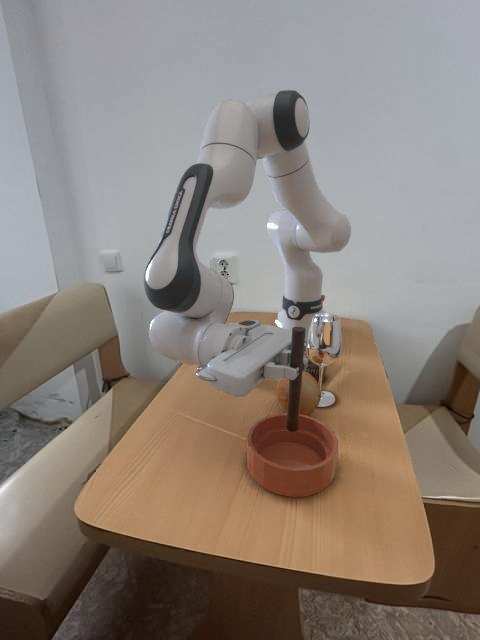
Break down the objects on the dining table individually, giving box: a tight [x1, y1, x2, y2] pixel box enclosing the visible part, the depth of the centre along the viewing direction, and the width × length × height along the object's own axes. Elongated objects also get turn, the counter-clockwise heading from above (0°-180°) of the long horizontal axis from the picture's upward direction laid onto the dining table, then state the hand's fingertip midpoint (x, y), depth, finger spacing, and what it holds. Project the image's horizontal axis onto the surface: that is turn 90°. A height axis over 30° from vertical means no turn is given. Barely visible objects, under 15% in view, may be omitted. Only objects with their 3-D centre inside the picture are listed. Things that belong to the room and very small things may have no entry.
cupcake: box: [304, 342, 329, 383], centre depth 94 cm, size 10×10×10 cm
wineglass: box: [305, 312, 343, 408], centre depth 83 cm, size 8×8×20 cm
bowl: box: [246, 412, 339, 498], centre depth 65 cm, size 15×15×6 cm
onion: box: [274, 371, 322, 416], centre depth 80 cm, size 10×10×10 cm
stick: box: [286, 327, 306, 432], centre depth 59 cm, size 2×2×18 cm
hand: (301, 369), depth 58 cm, fingers closed on stick, 2 cm apart
